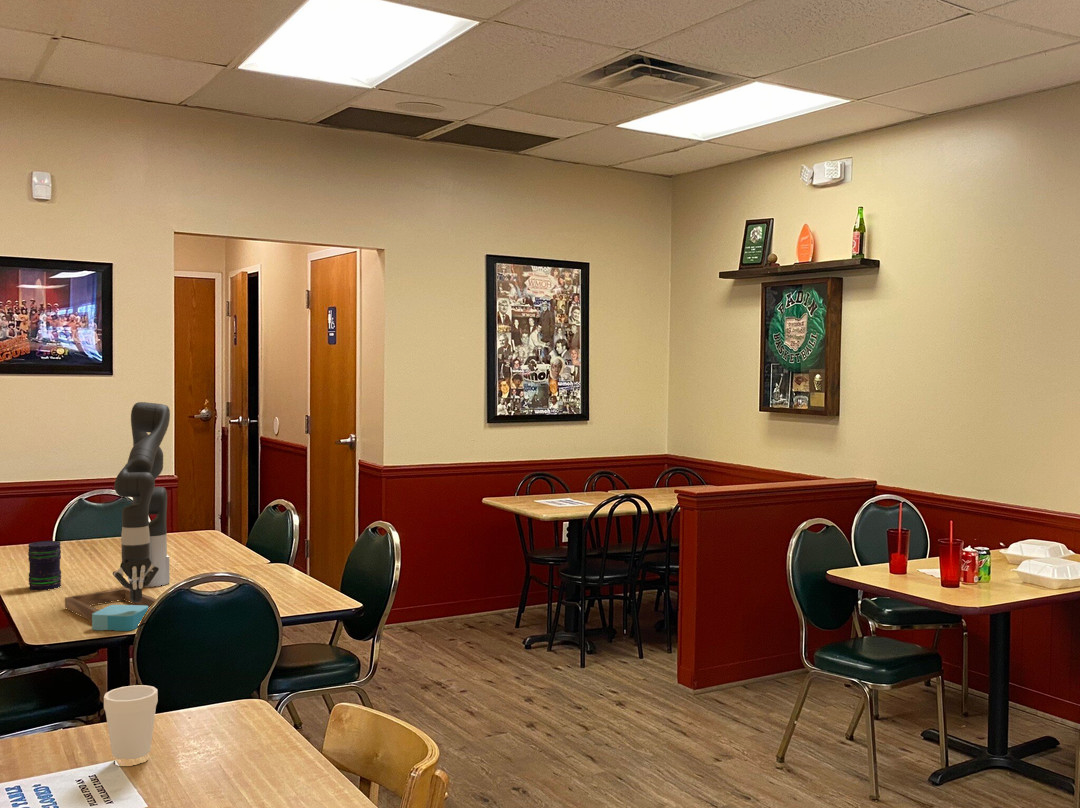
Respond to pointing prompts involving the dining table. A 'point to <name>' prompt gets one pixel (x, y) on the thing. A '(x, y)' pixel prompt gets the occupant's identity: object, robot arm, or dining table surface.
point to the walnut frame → (101, 601)
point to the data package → (118, 617)
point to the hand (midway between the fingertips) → (136, 601)
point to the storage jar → (44, 565)
